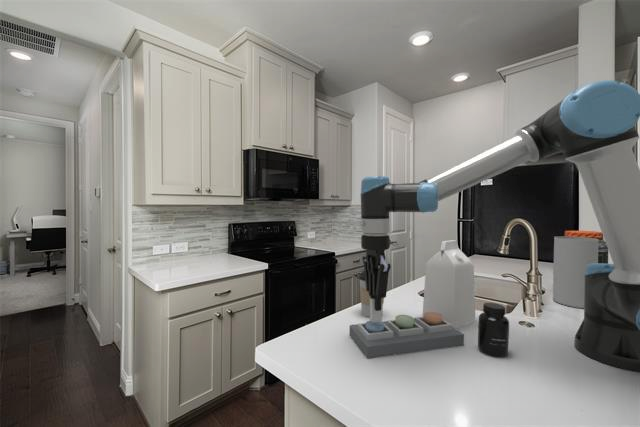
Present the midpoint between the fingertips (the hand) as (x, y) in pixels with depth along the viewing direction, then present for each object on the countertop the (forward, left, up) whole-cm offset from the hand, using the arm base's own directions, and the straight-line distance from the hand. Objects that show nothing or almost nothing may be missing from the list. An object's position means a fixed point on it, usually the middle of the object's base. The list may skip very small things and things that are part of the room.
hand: (375, 320), depth 78 cm
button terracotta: (0, -18, -2) cm, 18 cm away
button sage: (0, -9, -2) cm, 9 cm away
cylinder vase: (+11, -87, -7) cm, 88 cm away
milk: (+10, -31, -7) cm, 33 cm away
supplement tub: (+23, -109, -7) cm, 111 cm away
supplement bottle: (-11, -28, -7) cm, 31 cm away
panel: (0, -9, -7) cm, 11 cm away
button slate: (0, 0, -3) cm, 3 cm away
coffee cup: (+20, -8, -7) cm, 23 cm away
